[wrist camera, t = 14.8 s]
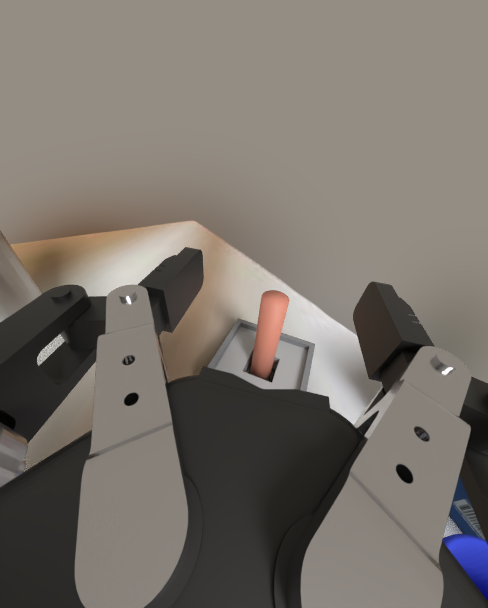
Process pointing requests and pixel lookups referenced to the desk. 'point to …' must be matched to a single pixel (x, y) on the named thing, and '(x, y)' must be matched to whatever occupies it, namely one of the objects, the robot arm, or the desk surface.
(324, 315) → the desk surface
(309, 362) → the grey square hole base
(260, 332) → the peg
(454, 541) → the mug
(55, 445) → the desk surface
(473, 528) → the protein box
